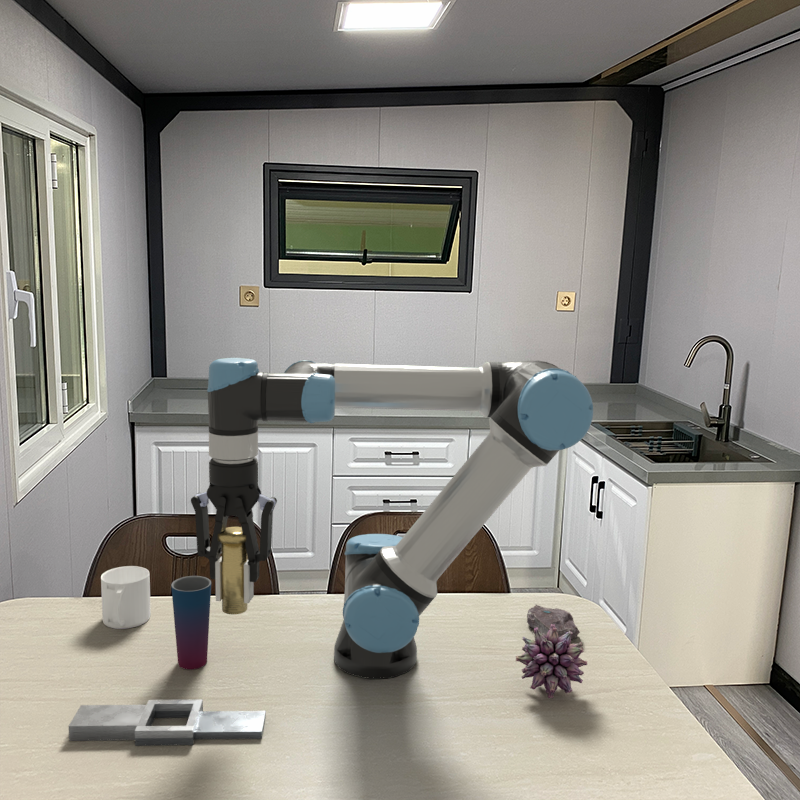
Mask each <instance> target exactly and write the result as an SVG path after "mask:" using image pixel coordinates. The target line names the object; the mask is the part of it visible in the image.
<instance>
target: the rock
mask: <svg viewBox="0 0 800 800" xmlns="http://www.w3.org/2000/svg"><path fill="white" fill-rule="evenodd" d="M526 622H527V624H528V626H529V627H530V628H531V629H533V630H534V629H535V628H538V629H539V630H540V631H541V632H542V633H544V634H545V635H546V636H547V633H548V631H549V630H550V627H551V624H552V625H555V628H557V633H558V637H561V636H563V635H564V634H566V633H567V632H569V631H570V632H572V633H573V634H572V636H571V640H572V639H576V638H577V637H578V635H579V634H580V633H581V631H580V630H579V629H578V626H576V623H575V621H574V617H573V615H572V614H571V612H569V611H566V610H564V609H562V608H551V607H550V608H549V607H545V606H541V605H537V604H536V605H534V606H532V607H531V608H529V609H527V614H526Z"/></svg>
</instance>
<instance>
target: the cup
mask: <svg viewBox="0 0 800 800" xmlns="http://www.w3.org/2000/svg"><path fill="white" fill-rule="evenodd" d="M170 587H171V595H172V596H171V598H172V599H171V600H172V609H173V610H172V611H173V621H174V632H175V642H176V643H175V644H176V654H177V665H178V667H179V668H181V669H183V670H189V671H190V670H197V669H198V670H199V669H200V668H202V667H204V666H206V665H207V663H208V654H209V653H208V648H209V633H210V631H209V630H210V614H211V613H210V611H211V595H212V579H211V578H210V579H209V578H208V577H206V576H200V575H189V576H182V577H179V578H177V579H175V580H173V581H172V582H171V585H170Z"/></svg>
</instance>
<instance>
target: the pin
mask: <svg viewBox="0 0 800 800" xmlns="http://www.w3.org/2000/svg"><path fill="white" fill-rule="evenodd" d="M218 541H219V542H222V550H221V552H222V553H221V556H222V600H221V606H222V607H221V610H222V613H224V614H227V615H240V614H244V613H245V612H247V611H248V603H244V564H245V562H247V560H248V556H247V551H246V546H245V542H246V536H245V535H243V532H242V527H241V526H228V527H226V529H225V530H224V531H223V532H222V533H221V534H218Z"/></svg>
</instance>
